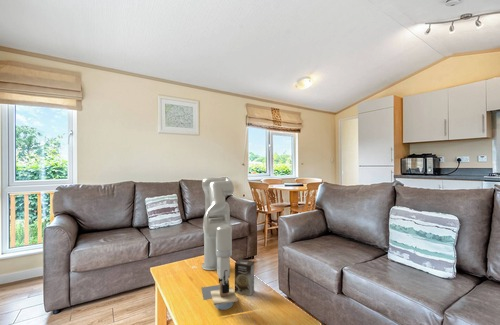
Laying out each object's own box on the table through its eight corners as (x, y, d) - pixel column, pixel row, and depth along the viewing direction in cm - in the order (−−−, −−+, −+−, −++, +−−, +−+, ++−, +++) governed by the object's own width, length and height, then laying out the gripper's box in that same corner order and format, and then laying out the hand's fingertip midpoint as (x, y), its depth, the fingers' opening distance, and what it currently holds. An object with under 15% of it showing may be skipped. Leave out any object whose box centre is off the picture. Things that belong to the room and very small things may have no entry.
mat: (201, 288, 128) (201, 287, 128) (223, 285, 132) (223, 284, 132) (203, 301, 117) (203, 299, 117) (227, 297, 120) (227, 295, 120)
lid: (210, 292, 117) (210, 278, 117) (232, 289, 121) (232, 275, 121) (213, 305, 107) (213, 290, 107) (237, 301, 110) (237, 286, 110)
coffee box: (234, 293, 123) (234, 263, 123) (238, 287, 130) (238, 258, 130) (250, 297, 120) (250, 265, 120) (254, 290, 126) (254, 260, 126)
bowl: (213, 301, 117) (213, 293, 117) (230, 298, 119) (230, 290, 119) (215, 312, 108) (215, 303, 108) (235, 308, 111) (235, 300, 111)
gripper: (213, 246, 121) (213, 280, 121) (219, 259, 104) (219, 298, 104) (227, 245, 123) (227, 278, 123) (235, 258, 107) (235, 296, 107)
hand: (223, 287), depth 114 cm, fingers open, 9 cm apart
